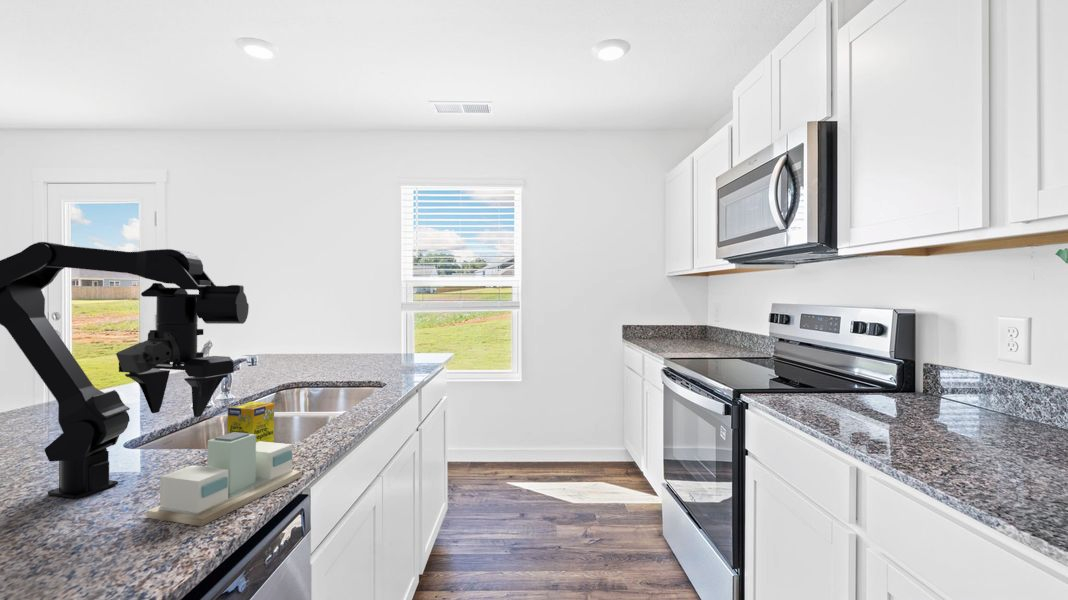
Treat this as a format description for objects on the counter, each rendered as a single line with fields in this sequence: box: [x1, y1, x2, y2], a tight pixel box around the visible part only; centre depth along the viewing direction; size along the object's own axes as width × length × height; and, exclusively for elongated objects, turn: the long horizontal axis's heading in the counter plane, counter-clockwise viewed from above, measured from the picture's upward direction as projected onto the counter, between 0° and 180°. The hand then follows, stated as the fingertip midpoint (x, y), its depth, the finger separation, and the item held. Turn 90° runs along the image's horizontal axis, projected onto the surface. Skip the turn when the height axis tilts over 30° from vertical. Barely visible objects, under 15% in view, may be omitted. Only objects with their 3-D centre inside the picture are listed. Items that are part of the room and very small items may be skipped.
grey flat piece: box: [158, 468, 294, 516], centre depth 80 cm, size 7×19×1 cm, turn 166°
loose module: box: [206, 432, 256, 494], centre depth 80 cm, size 4×5×8 cm
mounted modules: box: [159, 441, 293, 513], centre depth 80 cm, size 7×18×4 cm, turn 166°
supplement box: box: [226, 401, 275, 443], centre depth 97 cm, size 6×6×11 cm
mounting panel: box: [146, 469, 303, 527], centre depth 80 cm, size 10×20×1 cm, turn 166°
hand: (176, 414), depth 84 cm, fingers open, 9 cm apart
